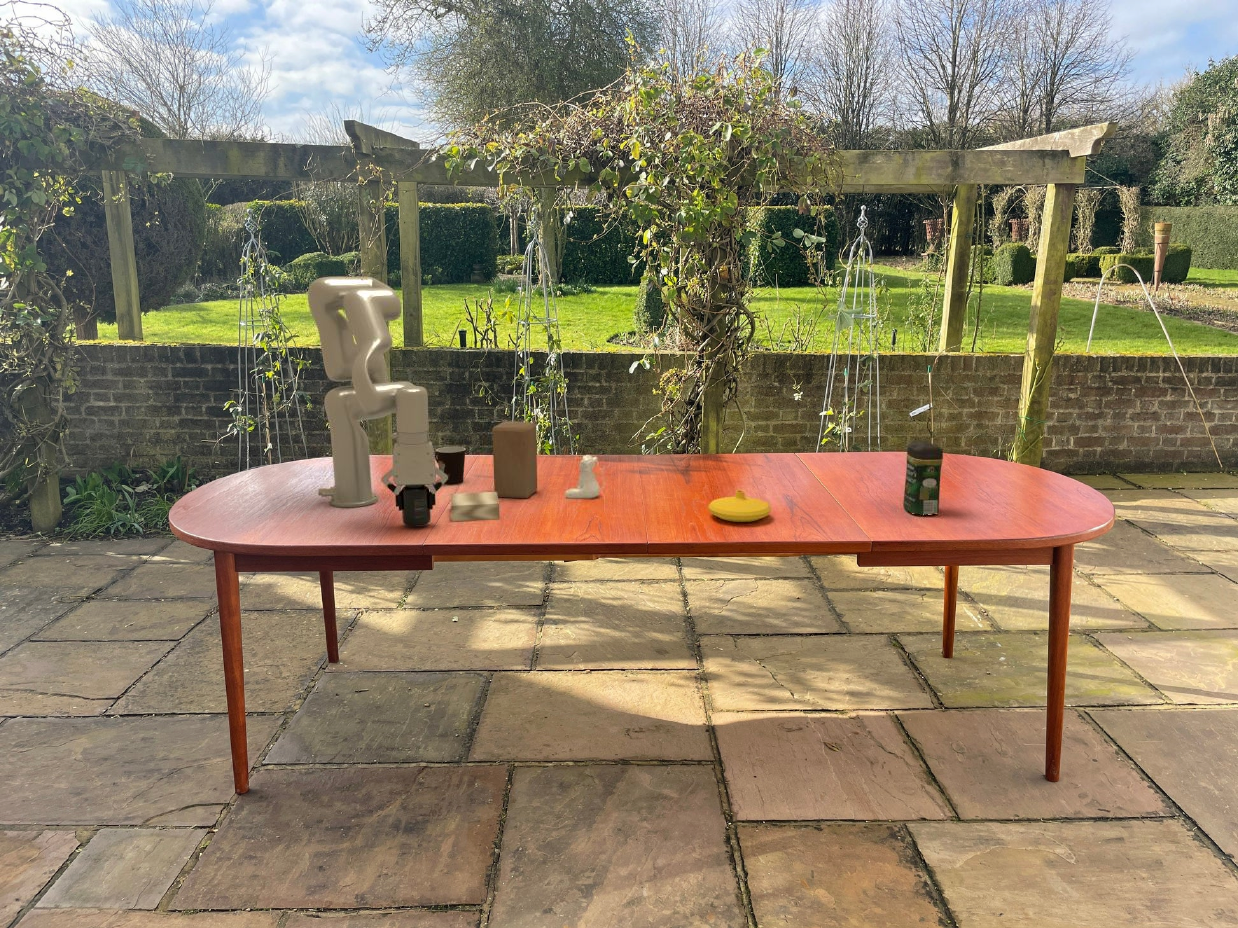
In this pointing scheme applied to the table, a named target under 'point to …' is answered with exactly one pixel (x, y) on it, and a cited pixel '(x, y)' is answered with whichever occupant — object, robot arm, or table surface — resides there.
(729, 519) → the vase
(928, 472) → the coffee jar
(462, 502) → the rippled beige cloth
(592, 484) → the seated beast figurine
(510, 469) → the block
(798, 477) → the table surface
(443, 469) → the coffee mug
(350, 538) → the table surface
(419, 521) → the supplement bottle
